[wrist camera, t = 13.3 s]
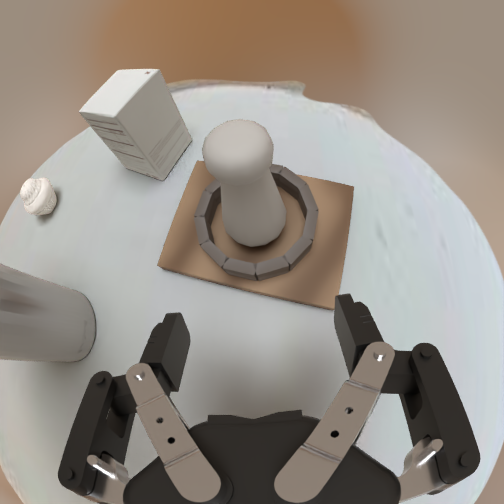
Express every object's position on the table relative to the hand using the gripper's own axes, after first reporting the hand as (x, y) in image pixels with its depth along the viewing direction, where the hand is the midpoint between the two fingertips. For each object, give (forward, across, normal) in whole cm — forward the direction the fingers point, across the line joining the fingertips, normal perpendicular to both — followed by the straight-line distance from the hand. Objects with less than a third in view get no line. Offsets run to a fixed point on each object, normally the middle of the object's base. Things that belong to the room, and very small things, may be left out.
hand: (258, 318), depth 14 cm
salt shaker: (+15, 0, +1) cm, 15 cm away
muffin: (+23, +33, -5) cm, 40 cm away
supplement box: (+25, +12, -8) cm, 29 cm away
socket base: (+16, 0, +2) cm, 16 cm away
